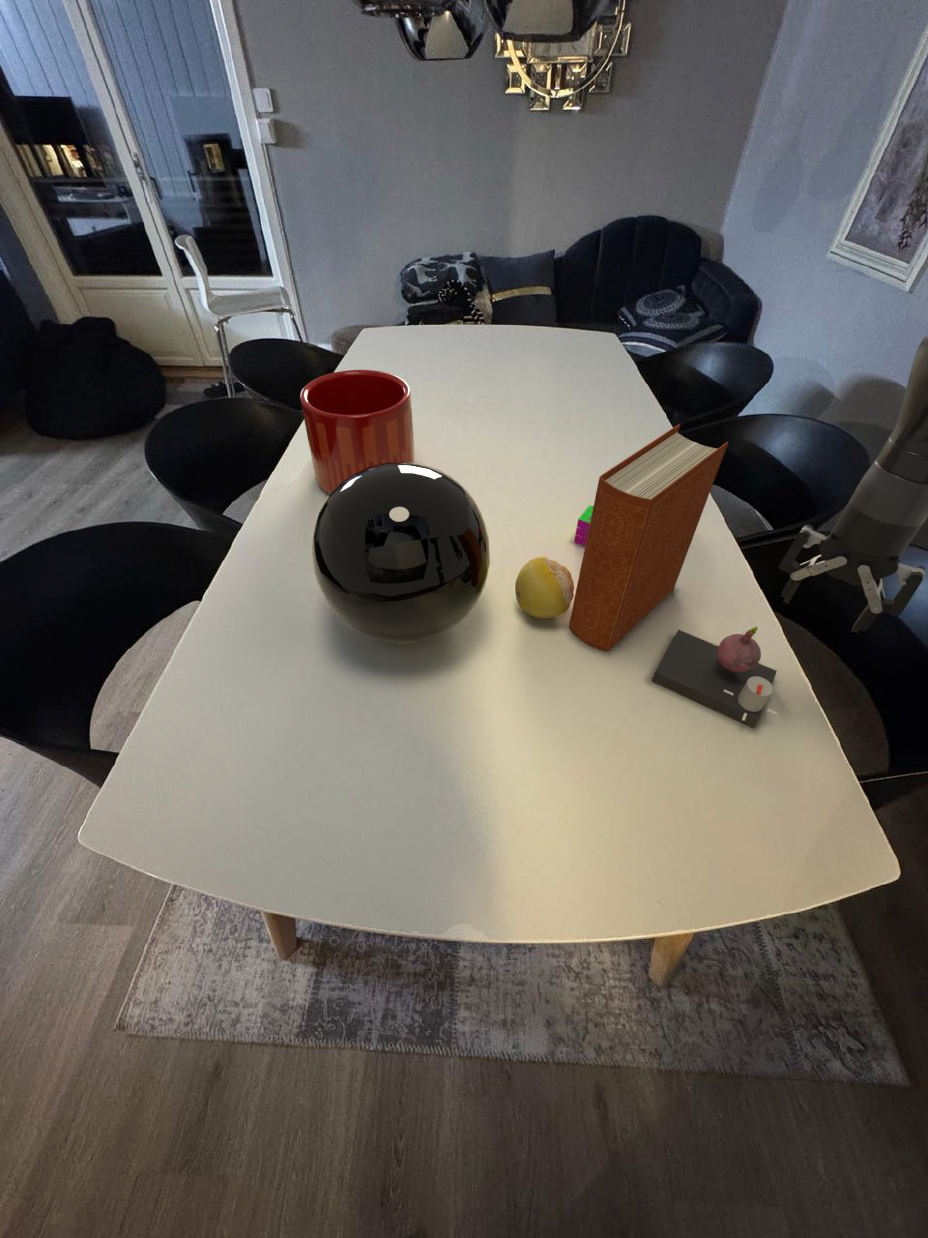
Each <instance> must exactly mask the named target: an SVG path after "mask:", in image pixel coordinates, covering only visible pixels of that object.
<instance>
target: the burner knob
mask: <svg viewBox="0 0 928 1238" xmlns="http://www.w3.org/2000/svg"><path fill="white" fill-rule="evenodd" d="M773 692H774V687H773V684H772V685H771V683H770V682H769V681H767V680H766V679H764V678H762V677H757V676H754V677H751V678H749V679H748V680H747V682H746V684H745V685H744V687H743V689H742V691H741V692H740V694H739V696H738V702H739V704H740V705H741V707H743V708H744V709H746V710H748V711H751V712H758V711H760V710H761V709H762V708H763V706H764V705H765V706H766V703H767V702H768V700H769V699H770V697H772V695H773ZM765 706H764V707H765Z"/></svg>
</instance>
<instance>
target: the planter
mask: <svg viewBox="0 0 928 1238" xmlns="http://www.w3.org/2000/svg"><path fill="white" fill-rule="evenodd" d="M299 400H300V405H301V410H302V411H301V412H302V415H303V420H304V425H305V432H306V436H307V442H308V446H309V452H310V457H311V462H312V468H313V473H314V476H315V481H316V482H317V484H318V486H319V487H320V488H321V489H322V490H323V491H324V492H326V493H328V494H330V493H331V492H332V491H333V490H334V489H335V488H336V487H337V486H338V485H339V484H340V483H341V482H342V481H343V480H345V479H346V478H348V477H349V476H351V475H352V474H354V473H355V472H358V471H360V470H362V469H365V468H367V467H369V466H372V465H377V464H381V463H385V462H410V463H416V462H415V461H416V459H415V458H416V457H415V456H416V455H415V442H414V441H415V440H414V424H413V423H414V422H413V408H412V407H413V406H412V405H413V404H412V392H411V388H410V385H409V384H408V383H407V382H406V381H405V380H404V379H403V378H401V377H399V376H397V375H394V374H392V373H388V372H385V371H380V370H373V369H347V370H340V371H335V372H332V373H327V374H325V375H322V376H319V377H316V378H314V379H313V380H311V381H310V382H308V383H307V384H305V386H304V387H303V388H302V389H301V391H300V395H299Z"/></svg>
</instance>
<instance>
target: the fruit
mask: <svg viewBox="0 0 928 1238" xmlns="http://www.w3.org/2000/svg"><path fill="white" fill-rule="evenodd" d="M574 591H575V583H574V579H573V577H572V573H571V572H570V570H569V569H568V568H567V567H566V566H563V565H562V564H560V563H558V562H557V560H553V559H550V558H547V557H546V556H537V557H534V558H533V559H530V560H529V561H528V562H526V563H525V564H524V565H523V566H522V567H521V568H520V571H519V572H518V574H517V577H516V579H515V585H514V592H515V599H516V601H517V604H518V605H519V607H520V608H521V610H522V611H523V612H525V613H526V614H527V615H529V616H532V617H534V618H540V619H551V618H556V617H559V616H560V615H563V614H565V613H567V611H568V610H569V608H570V606H571V604H572V601H573V600H574V597H575V594H574Z"/></svg>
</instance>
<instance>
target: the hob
mask: <svg viewBox="0 0 928 1238" xmlns="http://www.w3.org/2000/svg"><path fill="white" fill-rule="evenodd" d="M718 646H719V645H716V644H714V643H711V642H709V641H707V640H705V639H703V638H699V637H697V636H694V635H693V634H690V633H687V632H686V631H682V630H680V629H678V630H677V631H676V632H675V634H674V636H673V639H672V640H671V641H670V643H669V646H668V647H667V649H666V651H665V652H664V655H663V656H662V658H661V659H660V662H659V664H658V665H657V667H656V669H655V671H654V673H653V676H652V678H651V682H652V683H655V684H657V685H659V686H662V687H664V688H666V689H668V690H670V691H672V692H675V693H677V694H679V695H681V696H683V697H684V698H685V697H686V698H687V699H690V700H692V701H694V702H696V703H698V704H700V705H702V706H704V707H707V708H709V709H711V710H714V711H716V712H717V713H720V714H722V715H724V716H726V717H728V718H730V719H733V720H735V721H737V722H739V723H742V724H743V725H746V726H748V727H750V728H753V729H754V728H755V727H756V725H757V724H758V722H759V720H761V718H762V717H761V716H762V714H763V712H764V708H765V706H766V704H765V705H764V706H763V708H762V709H761V710H760V711H758V712H751V711H748V710H746V709H744V708H743V707H741V705H740V704H739V702H738V696H739V694H740V692H741V691H742V689H743V687H744V685H745V684H746V682H747V680H748V679H749V678H751V677H754V676H757V677H762V678H764V679H766V680H767V681H769V682H770V683H771V685H772V686H773V682H774V680H775V677H776V675H777V672H778V670H776V669H774V668H772V667H768V666H766V665H764V664H762V663H758V664H757V665H756V666H755V667H754V668H753V669H751V670H749V671H746V672H732V671H730V670H728V669H726V668H725V667H723V666H722V665H721V663H720V662H719V660H718V658H717V649H718ZM766 712H768V713H770V714H773V715H775V716H777V715H778V712H776V711H774V710H772V709H770V708H767V709H766Z"/></svg>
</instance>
